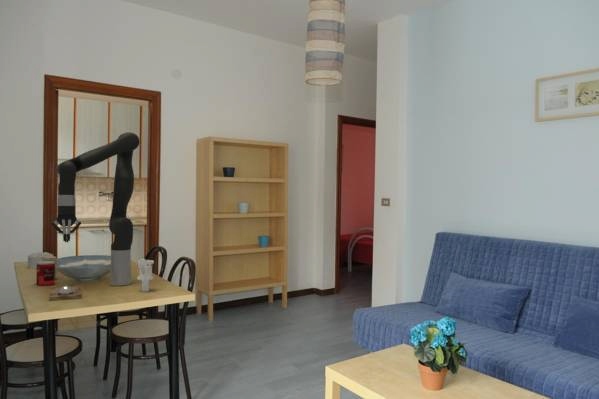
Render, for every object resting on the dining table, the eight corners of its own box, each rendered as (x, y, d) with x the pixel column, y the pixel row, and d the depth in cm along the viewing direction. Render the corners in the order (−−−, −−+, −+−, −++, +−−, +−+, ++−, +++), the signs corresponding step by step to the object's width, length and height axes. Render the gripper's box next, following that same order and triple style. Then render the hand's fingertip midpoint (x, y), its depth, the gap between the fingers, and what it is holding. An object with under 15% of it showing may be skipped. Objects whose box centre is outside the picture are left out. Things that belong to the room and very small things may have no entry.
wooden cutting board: (80, 289, 215) (80, 286, 214) (81, 298, 197) (81, 294, 197) (51, 291, 209) (51, 288, 209) (49, 300, 191) (49, 297, 191)
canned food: (40, 283, 227) (41, 260, 227) (57, 283, 228) (57, 261, 228) (33, 286, 220) (33, 263, 220) (50, 286, 221) (50, 263, 220)
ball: (71, 287, 196) (72, 298, 197) (71, 283, 201) (72, 294, 202) (58, 288, 194) (59, 299, 195) (58, 285, 199) (59, 296, 199)
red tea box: (59, 279, 237) (59, 256, 237) (43, 281, 231) (43, 257, 231) (54, 278, 241) (55, 255, 241) (38, 279, 235) (39, 256, 235)
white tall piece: (134, 291, 213) (134, 258, 213) (146, 288, 219) (147, 257, 219) (143, 293, 209) (144, 260, 209) (156, 290, 215) (156, 258, 215)
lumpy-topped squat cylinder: (26, 267, 273) (26, 252, 273) (50, 265, 283) (50, 251, 283) (31, 269, 266) (31, 254, 266) (55, 267, 275) (56, 252, 275)
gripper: (82, 204, 219) (82, 240, 220) (50, 204, 213) (50, 241, 214) (82, 204, 213) (82, 242, 213) (49, 205, 207) (50, 243, 207)
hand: (66, 242), depth 213 cm, fingers closed
